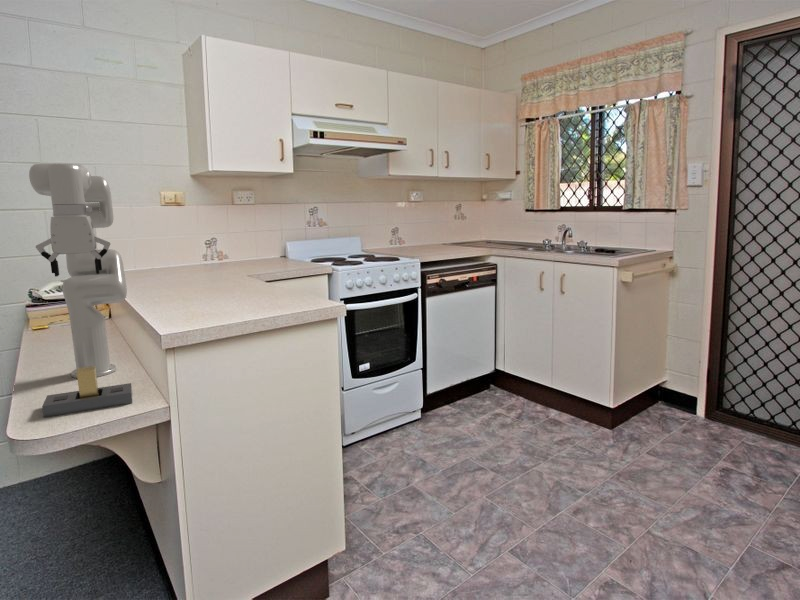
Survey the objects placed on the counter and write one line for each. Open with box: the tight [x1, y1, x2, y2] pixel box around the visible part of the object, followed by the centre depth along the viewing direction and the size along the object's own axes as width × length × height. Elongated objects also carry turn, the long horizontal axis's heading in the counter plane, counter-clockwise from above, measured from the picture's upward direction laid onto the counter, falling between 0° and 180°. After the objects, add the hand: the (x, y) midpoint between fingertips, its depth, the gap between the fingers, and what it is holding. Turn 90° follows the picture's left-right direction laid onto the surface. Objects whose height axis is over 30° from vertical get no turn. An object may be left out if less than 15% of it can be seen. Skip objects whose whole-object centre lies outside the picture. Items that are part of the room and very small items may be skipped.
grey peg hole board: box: [41, 382, 133, 419], centre depth 141 cm, size 9×20×3 cm, turn 117°
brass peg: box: [76, 366, 99, 399], centre depth 140 cm, size 4×4×10 cm
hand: (77, 274), depth 144 cm, fingers open, 9 cm apart
